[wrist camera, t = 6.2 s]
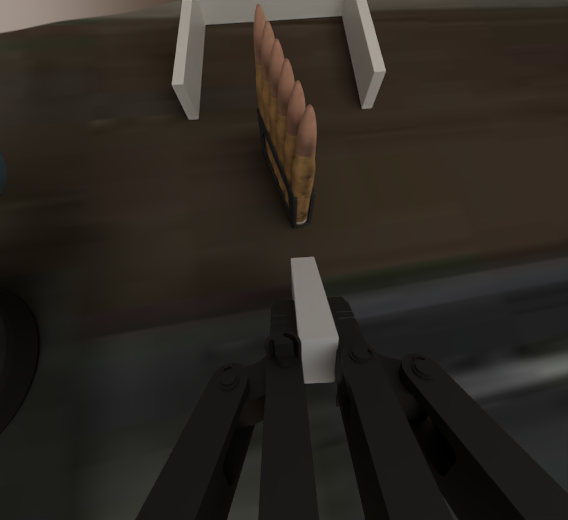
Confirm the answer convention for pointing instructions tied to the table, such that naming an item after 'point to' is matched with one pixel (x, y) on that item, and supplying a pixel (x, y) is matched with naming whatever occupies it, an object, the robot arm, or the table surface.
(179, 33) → the box
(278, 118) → the ammunition clip
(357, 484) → the robot arm
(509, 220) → the table surface
